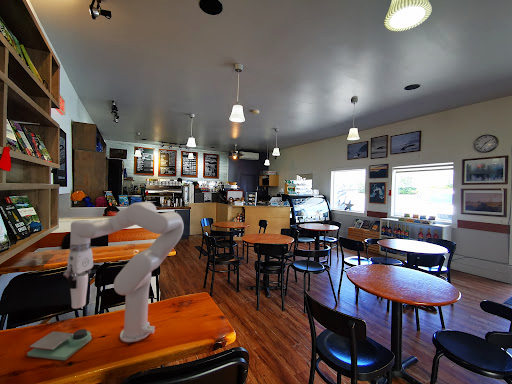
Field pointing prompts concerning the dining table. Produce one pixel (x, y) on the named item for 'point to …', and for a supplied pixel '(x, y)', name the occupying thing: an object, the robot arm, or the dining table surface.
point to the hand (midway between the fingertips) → (79, 284)
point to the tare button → (80, 334)
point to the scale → (62, 349)
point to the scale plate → (51, 340)
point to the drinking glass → (79, 290)
